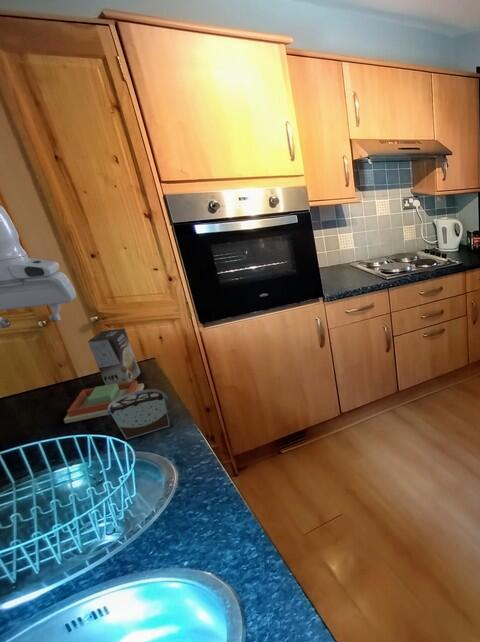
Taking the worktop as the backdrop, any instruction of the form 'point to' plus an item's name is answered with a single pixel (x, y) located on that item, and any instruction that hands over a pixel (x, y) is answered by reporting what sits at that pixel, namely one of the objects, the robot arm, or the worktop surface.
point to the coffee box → (114, 356)
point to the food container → (140, 412)
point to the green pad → (104, 394)
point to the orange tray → (85, 411)
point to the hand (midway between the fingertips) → (31, 323)
